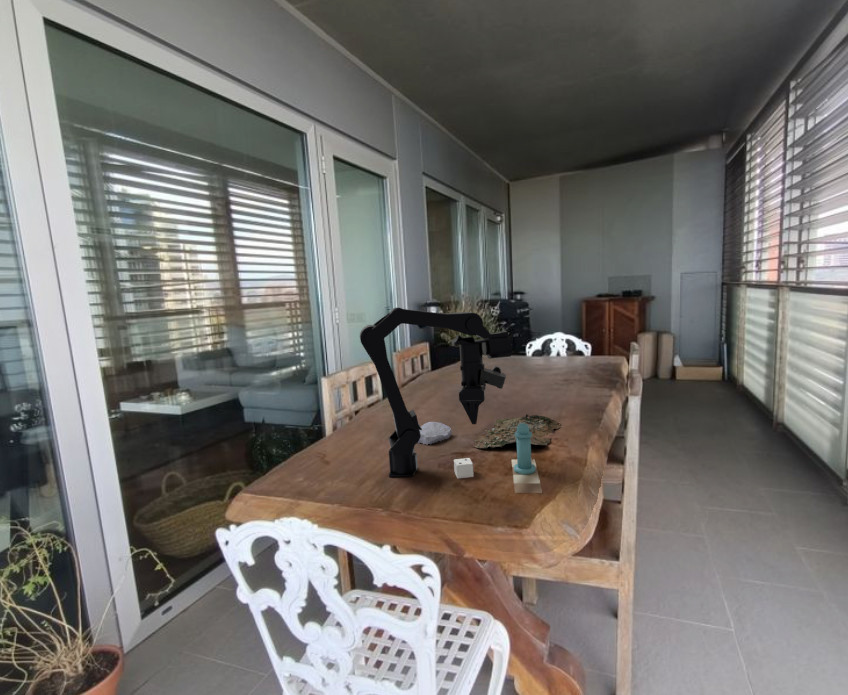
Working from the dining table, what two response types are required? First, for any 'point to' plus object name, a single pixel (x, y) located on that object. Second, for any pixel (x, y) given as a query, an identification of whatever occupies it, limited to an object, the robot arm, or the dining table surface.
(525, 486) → the board
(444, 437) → the stone block
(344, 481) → the dining table surface
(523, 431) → the pawn
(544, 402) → the dining table surface
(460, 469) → the die
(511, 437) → the terrain model
